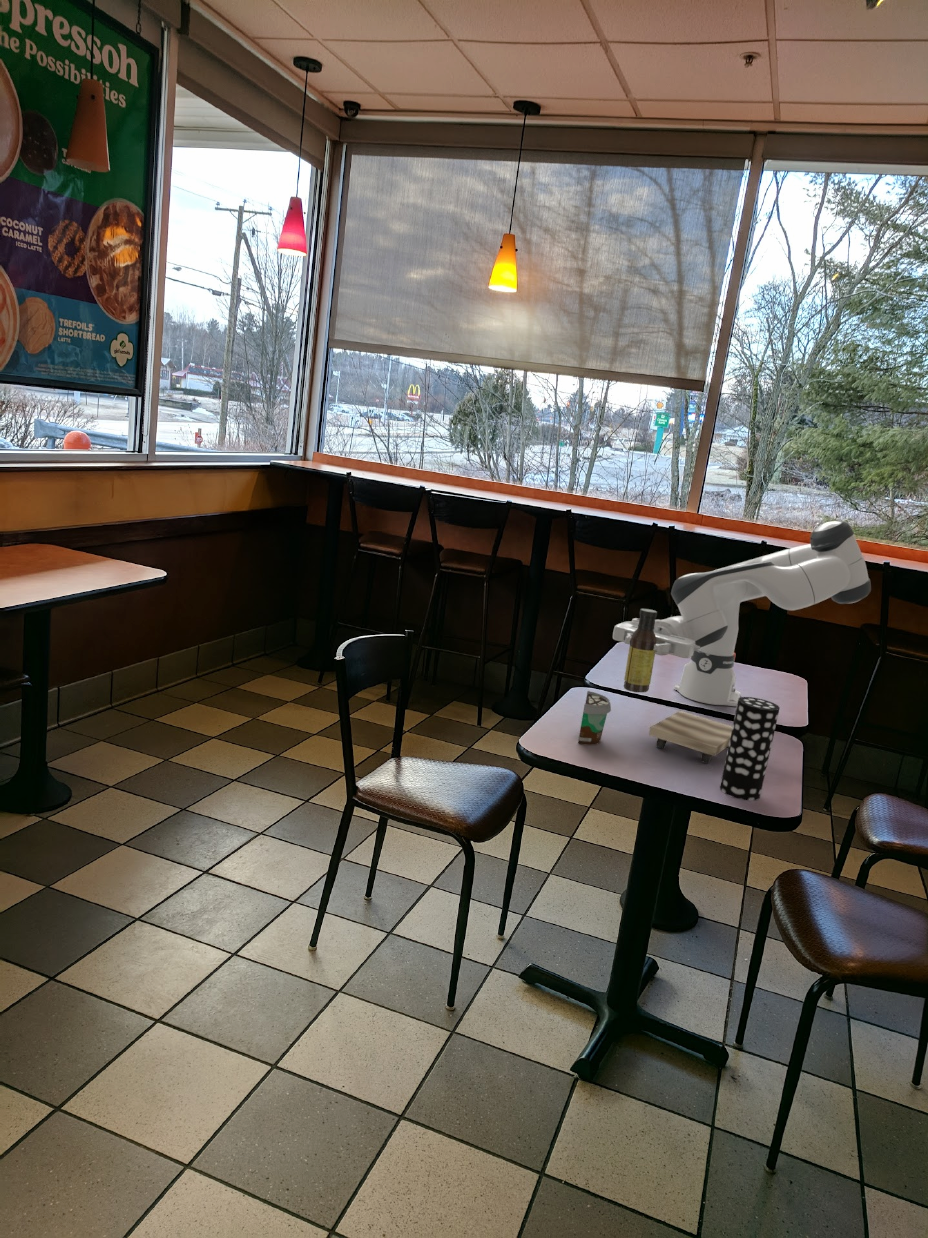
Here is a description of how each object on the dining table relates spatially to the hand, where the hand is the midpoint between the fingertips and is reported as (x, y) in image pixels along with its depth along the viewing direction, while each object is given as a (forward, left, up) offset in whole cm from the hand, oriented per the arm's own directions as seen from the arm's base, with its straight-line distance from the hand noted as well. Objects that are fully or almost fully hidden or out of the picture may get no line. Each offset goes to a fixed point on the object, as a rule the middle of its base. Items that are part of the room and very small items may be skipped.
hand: (641, 644), depth 207 cm
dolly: (-6, +15, -23) cm, 28 cm away
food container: (+11, -4, -23) cm, 26 cm away
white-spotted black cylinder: (+13, +32, -23) cm, 42 cm away
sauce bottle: (-1, 0, -12) cm, 12 cm away
